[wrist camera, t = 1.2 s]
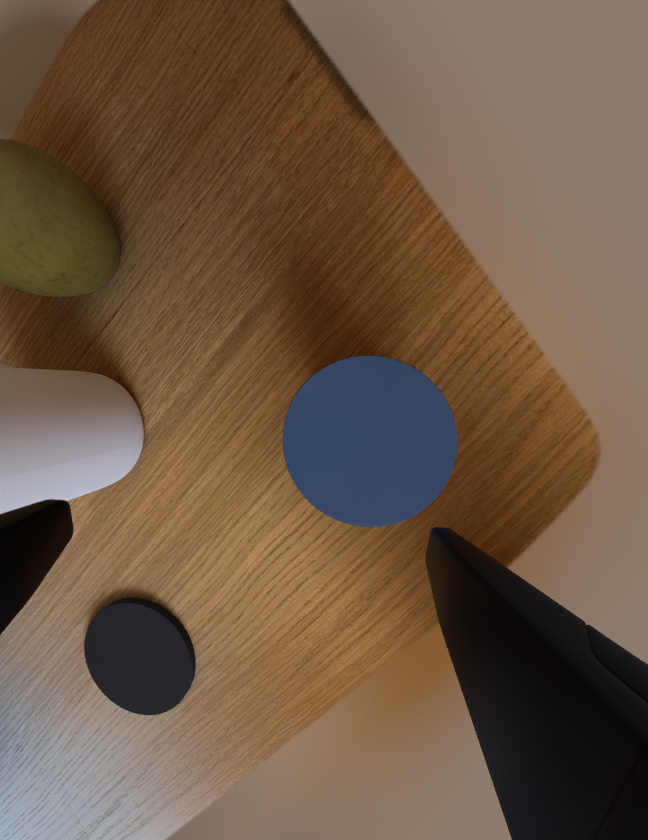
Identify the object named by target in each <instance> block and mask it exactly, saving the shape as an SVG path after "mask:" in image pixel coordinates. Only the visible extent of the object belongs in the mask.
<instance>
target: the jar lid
mask: <svg viewBox="0 0 648 840" xmlns="http://www.w3.org/2000/svg"><path fill="white" fill-rule="evenodd" d="M415 368H416V367H414V366H413V367H412V366H410V365H408V364H406V363H404V362H401V361H399V360H396V359H392V358H389V357H383V355H380V356H376V355H362V356H354V357H346V358H345V359H341V360H339V361H336V362H334V363H331V364H329V365H328V366H326V367H324V368H322V369H321V370H319V371H317V372H316V373H315V374H314V375H313V376H311V377H310V378H309V379H308V380H307V381H306V382H305V383H304V384H303V386H302V387H301V388H300V389H299V391H298V392H297V394H296V395H295V397H294V399H293V400H292V402H291V404H290V407H289V409H288V412H287V415H286V419H285V422H284V429H283V451H284V457H285V461H286V465H287V468H288V470H289V473H290V475H291V477H292V479H293V481H294V483H295V485H296V486H297V488H298V489H299V490H300V492H301V493H302V494H303V496H304V497H305V498H306V499H307V500H308V501H309V502H310V503H311V504H312V505H314V506H315V507H316V508H317V509H318V510H320V511H321V512H323V513H324V514H326V515H328V516H330V517H332V518H334V519H336V520H338V521H341V522H344V523H347V524H351V525H356V526H364V527H380V526H387V525H392V524H395V523H399V522H402V521H404V520H407V519H409V518H411V517H413V516H415V515H416V514H418V513H420V512H421V511H423V510H424V509H425V508H426V507H428V506H429V505H430V504H431V503H432V502H433V501H434V500H435V499H436V498H437V497H438V496H439V494H440V493H441V491H442V490H443V489H444V487H445V486H446V484H447V482H448V480H449V478H450V476H451V473H452V470H453V468H454V465H455V460H456V455H457V430H456V425H455V420H454V417H453V414H452V412H451V409H450V407H449V405H448V403H447V401H446V399H445V397H444V396H443V394H442V393H441V390H440V389H438V387H437V386H436V385H435V384H434V383H433V382H432V381H431V380H430V379H429V378H428V377H426V376H425V375H424V374H423V373H421V372H420V371H419V370H417V369H415Z"/></svg>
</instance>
